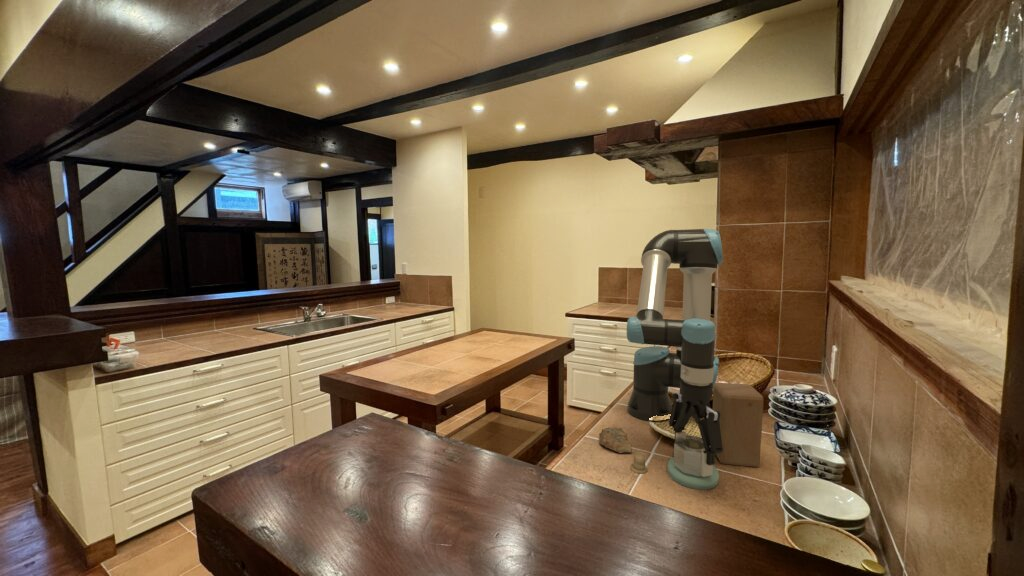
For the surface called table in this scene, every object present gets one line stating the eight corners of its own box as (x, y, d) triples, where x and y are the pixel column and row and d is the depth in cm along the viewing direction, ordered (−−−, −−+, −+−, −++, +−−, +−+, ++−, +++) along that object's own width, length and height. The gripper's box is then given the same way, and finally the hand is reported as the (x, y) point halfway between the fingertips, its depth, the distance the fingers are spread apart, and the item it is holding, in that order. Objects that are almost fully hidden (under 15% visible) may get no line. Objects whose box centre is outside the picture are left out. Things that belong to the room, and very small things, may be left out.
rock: (594, 440, 122) (606, 451, 112) (597, 421, 122) (610, 430, 113) (620, 445, 123) (635, 456, 113) (623, 426, 124) (638, 435, 114)
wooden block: (760, 468, 105) (765, 396, 103) (720, 465, 107) (723, 394, 105) (746, 449, 115) (750, 383, 113) (709, 446, 117) (712, 381, 115)
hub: (668, 459, 110) (668, 438, 110) (716, 468, 106) (717, 446, 105) (666, 483, 100) (667, 460, 99) (720, 494, 95) (721, 470, 94)
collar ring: (667, 459, 105) (667, 438, 105) (694, 454, 108) (695, 433, 107) (690, 478, 97) (691, 455, 96) (719, 472, 99) (721, 449, 99)
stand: (631, 462, 109) (632, 449, 108) (648, 466, 107) (648, 452, 107) (629, 471, 105) (630, 457, 104) (647, 475, 103) (647, 460, 103)
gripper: (656, 369, 109) (654, 446, 112) (717, 398, 88) (713, 492, 91) (679, 366, 111) (676, 442, 114) (744, 394, 91) (739, 486, 93)
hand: (692, 464), depth 102 cm, fingers closed on collar ring, 9 cm apart
